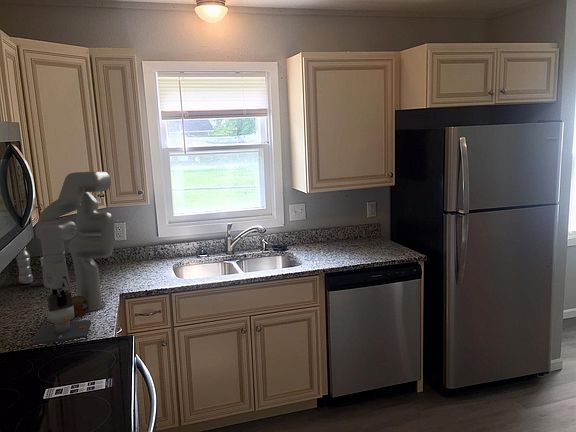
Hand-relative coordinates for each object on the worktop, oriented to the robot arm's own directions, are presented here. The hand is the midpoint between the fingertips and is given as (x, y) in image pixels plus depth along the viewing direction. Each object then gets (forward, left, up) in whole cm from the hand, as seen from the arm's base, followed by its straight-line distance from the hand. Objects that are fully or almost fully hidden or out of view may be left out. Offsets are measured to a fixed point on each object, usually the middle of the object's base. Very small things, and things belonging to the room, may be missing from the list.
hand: (59, 304), depth 184 cm
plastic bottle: (-83, -29, -12) cm, 89 cm away
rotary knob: (+1, +1, -5) cm, 5 cm away
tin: (-20, 0, -12) cm, 23 cm away
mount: (0, 0, -12) cm, 12 cm away
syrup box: (-77, -16, -12) cm, 80 cm away
